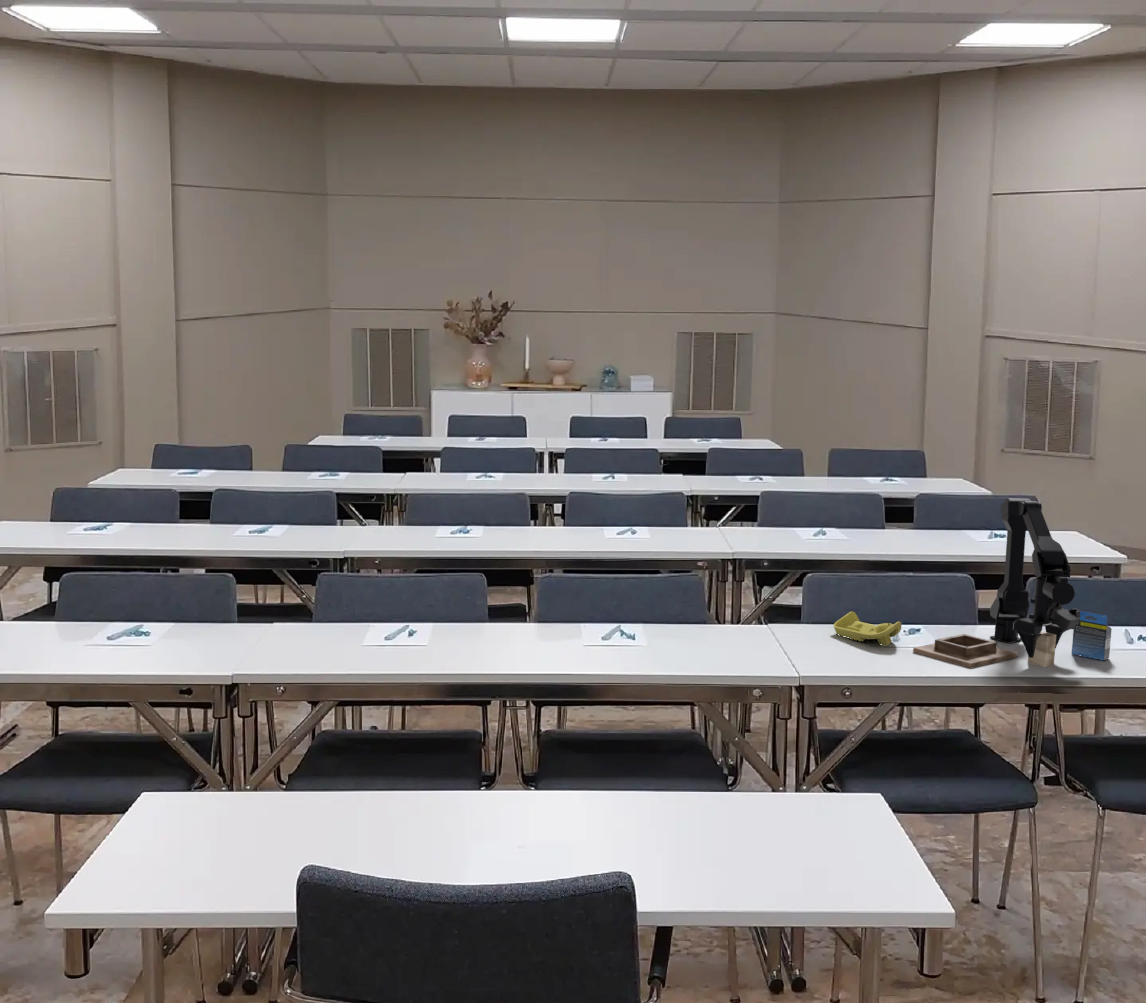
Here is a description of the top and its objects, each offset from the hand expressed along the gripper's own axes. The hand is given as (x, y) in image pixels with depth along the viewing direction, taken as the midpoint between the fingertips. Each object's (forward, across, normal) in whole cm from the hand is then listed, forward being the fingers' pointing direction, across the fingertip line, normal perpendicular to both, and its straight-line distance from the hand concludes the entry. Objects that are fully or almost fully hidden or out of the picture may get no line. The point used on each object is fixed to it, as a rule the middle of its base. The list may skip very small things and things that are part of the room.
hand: (1041, 655), depth 332 cm
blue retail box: (+2, +18, -3) cm, 18 cm away
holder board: (+2, -10, +16) cm, 19 cm away
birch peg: (+2, 0, 0) cm, 2 cm away
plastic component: (+3, -21, +40) cm, 45 cm away
